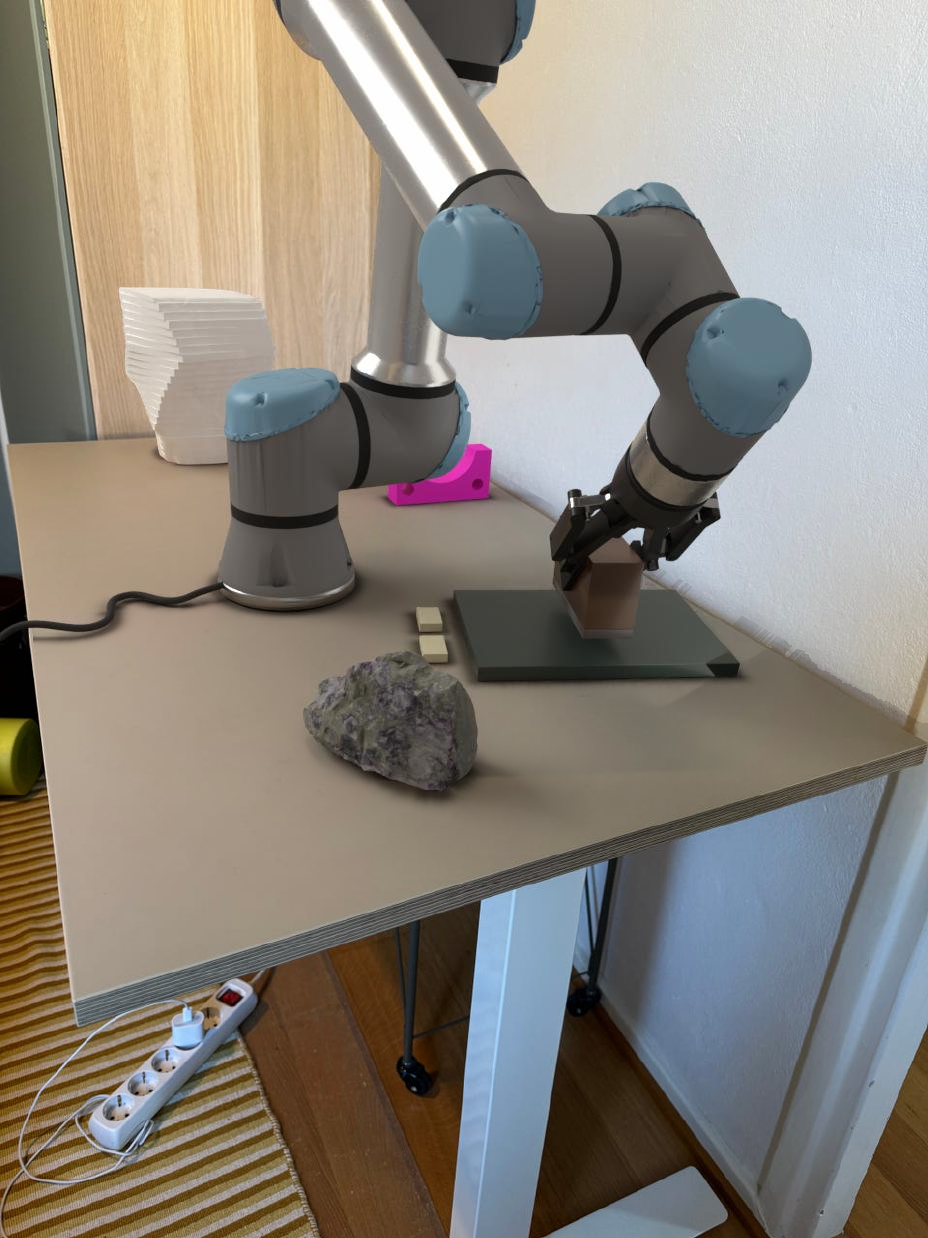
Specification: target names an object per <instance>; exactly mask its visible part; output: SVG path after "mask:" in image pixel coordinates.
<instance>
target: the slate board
mask: <svg viewBox="0 0 928 1238" xmlns="http://www.w3.org/2000/svg"><path fill="white" fill-rule="evenodd" d="M452 603H453V606H454V610H455V613H456V616H457V619H458V623H459V626H460V629H461V632H462V636H463V638H464V643H465V645H466V649H467V652H468V656H469V659H470V662H471V665H472V668H473V671H474V674H475V678H476V681H477V682H483V681H485V682H487V681H488V682H490V681H492V682H493V681H539V680H540V681H542V680H595V679H596V680H597V679H598V680H599V679H655V678H656V679H657V678H658V679H659V678H707V677H708V678H709V677H710V678H711V677H712V678H713V677H715V678H716V677H738V675H739V672H740V671H739V670H740V666H741V662H740V661H739V660H738V659H737V658H736V657H735V655H734V654H733V653H732V652H731V651H730V650H729V649H728V648H727V646H726V645H725V644H724V643H723V642H722V641H721V640H720V638H719V637H718V636H717V635H716V634H715V633H714V632H713V630H712V629H711V628H710V627H709V626H708V625H707V624H706V623H705V621H704V620H703V619H702V618H701V617H700V616H699V615H698V613H696V611H695V610H694V609H693V608H692V607H691V606H690V605H689V603H688V602H687V601H686V600H685V599H684V598H683V597H682V596H681V594H680V593H679V592H678V591H677V589H674V588H673V589H640V592H639V598H638V604H637V610H636V616H635V623H634V629H633V635H632V638H612V639H583V638H582V637H581V635H580V633H579V631H578V629H577V628H576V626H575V624H574V622H573V620H572V619H571V617H570V615H569V613H568V611H567V610H566V608H565V606H564V604H563V602H562V601H561V599H560V597H559V595H558V593H557V592H556V590H555V589H453V591H452Z"/></svg>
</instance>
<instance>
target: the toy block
mask: <svg viewBox="0 0 928 1238" xmlns="http://www.w3.org/2000/svg"><path fill="white" fill-rule="evenodd" d="M492 457H493V449H492V448H490V447H488V446H486V445H485V444H483V443H468V444H467V447H466V450H465V453H464V455H463V457H462V459H461V460H460V462H459V463H458V464H457V466H456V467H455V468H454V469H453V470H452V471H450V472H449V473H447V474H446V475H444V476H442V477H439V478H434V479H428V480H425V481H423V482H420V483H415V484H409V483H403V484H394V485H387V499H389V500H390V501H391V502H392V503H393V504H394V505H395V506H406V505H419V504H431V503H432V504H433V503H442V502H443V503H444V502H456V501H466V500H467V501H469V500H481V499H489V497H490V485H491V474H492V473H491V470H492Z"/></svg>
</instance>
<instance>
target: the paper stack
mask: <svg viewBox="0 0 928 1238" xmlns="http://www.w3.org/2000/svg"><path fill="white" fill-rule="evenodd" d="M118 295H119V298H118V299H119V301H120V309H121V315H122V328H123V336H124V342H125V348H124V354H125V355H124V367H125V368H124V371H125V374H126V376H127V378H128V379H129V380H130V382H131V383H133V384H134V386H135V387H136V389H137V391H138V394H139V395H140V397H141V400H142V403H143V407H145V413H146V415H147V417H148V421H149V424H150V425H151V428H152V430H153V431H154V434H155V438H156V444H157V449H158V454H159V455H160V457H161V458H163V459H164V460H165V461H167V462H169V463H175V464H177V465H186V466H187V465H188V466H189V465H214V464H215V465H216V464H217V465H218V464H225V463H228V454H227V439H226V436H225V433H224V426H225V421H226V396H227V393H228V391H229V389H230V388H231V387H232V386H233V385H234V384H235V383H237V382H238V381H240V380H241V379H243V378H246V377H248V376H251V375H254V374H258V373H262V372H266V371H272V370H275V366H274V363H275V362H276V358H275V356H276V355H277V350H276V346H275V343H274V338H273V335H272V331H271V325H270V319H269V317H268V316H267V314H266V313H267V312H266V309H265V308H263V301H262V300H259V298H257V297H255V296H254V295H251V294H245V293H242V292H240V291H235V290H229V289H222V288H221V289H220V288H201V287H200V288H197V287H138V286H137V287H136V286H135V287H133V286H132V287H131V286H130V287H128V286H127V287H125V286H123V287H121V286H120V287H118Z"/></svg>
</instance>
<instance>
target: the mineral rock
mask: <svg viewBox="0 0 928 1238" xmlns="http://www.w3.org/2000/svg"><path fill="white" fill-rule="evenodd" d="M345 672H346V673H345V675H343V676H335V677H334V676H333V677H328V678H325V679H323V680H321V681H320V682H319V683H318V685H317V694H316V697H315V699H314V700H313V702H311V703H310V704H309V705H308V706H307V707H304V708H303V710H302V719H303V722H304V725H305V728H306V730H307V732H308V733H309V734H310V735H312V737H313V739H314V741H315V742H316V743H318V744H320V745H321V746H323V747H324V748H326V749H327V750H328V751H330V752H331V753H334V754H335V755H337V757H340V758H342V759H343V760H344V761H348V762H351V763H353V764H355V765H357V766H358V767H360V768H361V769H362V770H363V771H365V772H367V771H368V772H376V773H377V774H379V775H381V776H383V777H385V778H387V779H388V780H391V781H397V782H399V783H400V782H401V783H404V784H406V785H409V786H412V787H416V788H418V789H421V790H424V791H435V790H437V791H439V792H440V793H441V792H443V791H447V790H448V789H449V788H450V787H451V786H452V784H453V783H455V782H456V781H460V780H462V779H464V778H465V777H466V775H468V773H469V772H470V770H471V769H472V767H473V765H474V763H475V760H476V757H477V753H478V746H479V745H478V733H479V728H478V724H477V718H476V712H475V707H474V704H473V701H472V699H471V696H470V695H469V693H468V691H467V689H466V688H465V687H464V685H463V684H462V682H461V681H460V680H459V678H457V677H456V676H454V675H453V674H450V673H448V672H443V671H441V670H438V669H435V667H433V666H432V664H431V663H428V662H427V661H426V659H425V658H424V656H422V654H420V653H417V652H413V651H410V650H407V649H400V650H395V651H394V652H387V653H384V654H382V655H379V656H376V657H375V658H374V659H373V660H372V661H369V660H368V661H362V662H359V663H356V664H354V665H350V666H348V668H347V669H346V671H345Z"/></svg>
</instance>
